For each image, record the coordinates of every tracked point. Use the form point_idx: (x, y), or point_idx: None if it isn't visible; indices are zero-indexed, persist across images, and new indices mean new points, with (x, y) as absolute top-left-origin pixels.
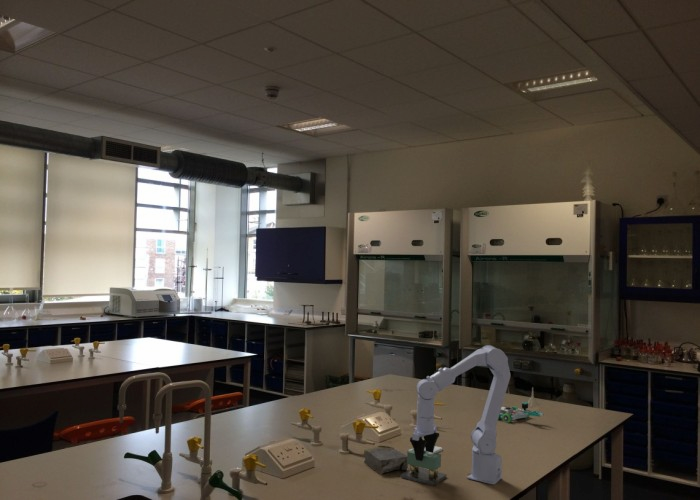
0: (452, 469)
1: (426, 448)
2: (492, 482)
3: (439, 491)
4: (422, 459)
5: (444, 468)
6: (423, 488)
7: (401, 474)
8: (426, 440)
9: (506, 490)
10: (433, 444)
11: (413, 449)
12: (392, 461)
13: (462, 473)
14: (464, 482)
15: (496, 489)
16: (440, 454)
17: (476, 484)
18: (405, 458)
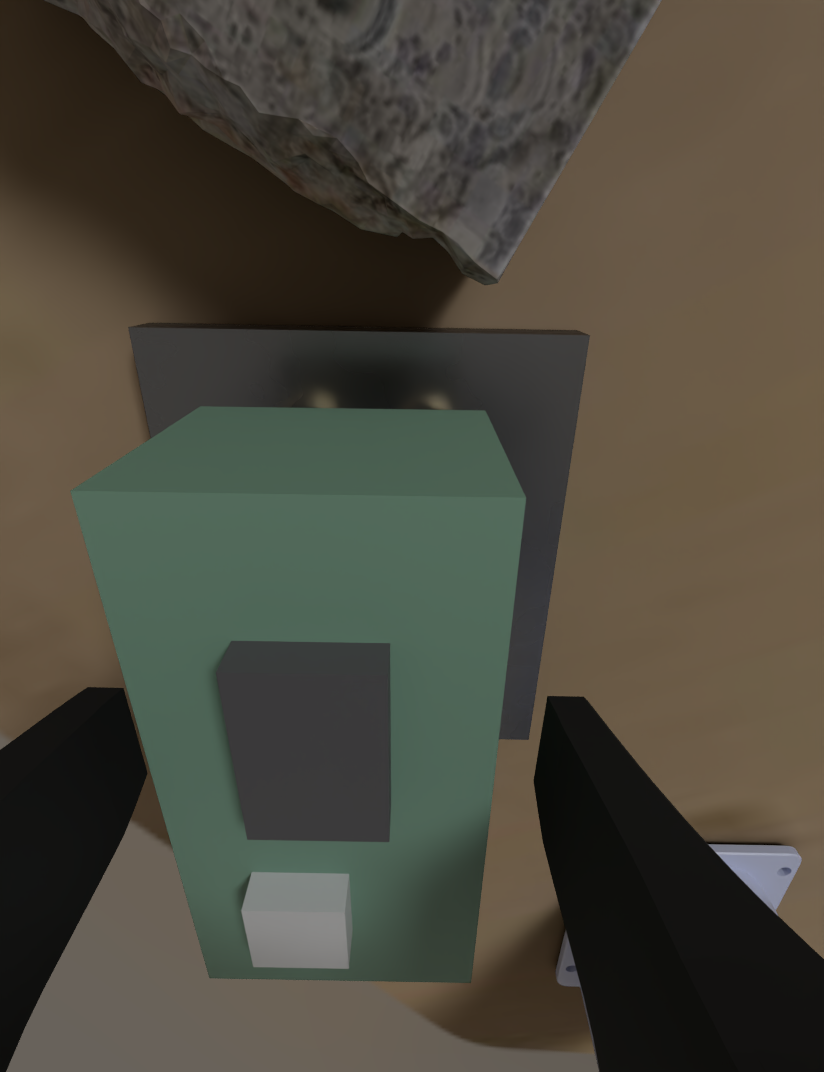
0: (798, 683)
1: (579, 796)
2: (571, 977)
3: (152, 779)
4: (129, 797)
5: (799, 614)
6: (91, 667)
7: (136, 336)
8: (676, 1042)
9: (507, 1019)
10: (598, 1059)
11: (409, 524)
12: (100, 6)
13: (714, 778)
14: (490, 844)
15: (487, 988)
16: (458, 978)
17: (502, 903)
18: (428, 232)
